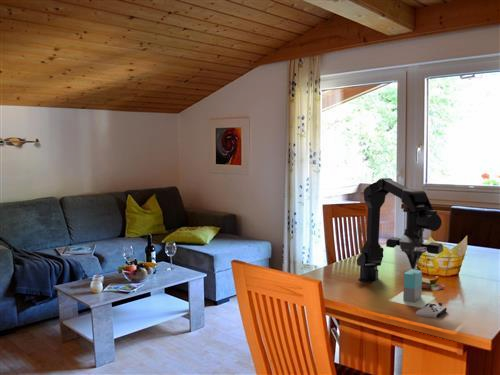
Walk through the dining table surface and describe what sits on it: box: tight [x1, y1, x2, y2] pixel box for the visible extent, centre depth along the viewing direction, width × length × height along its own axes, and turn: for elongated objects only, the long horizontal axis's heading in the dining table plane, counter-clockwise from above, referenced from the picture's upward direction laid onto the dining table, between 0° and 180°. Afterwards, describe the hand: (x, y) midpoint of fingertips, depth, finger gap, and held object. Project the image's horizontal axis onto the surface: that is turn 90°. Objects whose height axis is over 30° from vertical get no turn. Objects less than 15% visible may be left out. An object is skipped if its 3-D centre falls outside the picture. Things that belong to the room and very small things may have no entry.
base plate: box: [388, 290, 436, 309], centre depth 171 cm, size 12×14×1 cm
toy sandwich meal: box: [422, 277, 446, 292], centre depth 186 cm, size 12×14×5 cm
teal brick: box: [403, 268, 423, 289], centre depth 170 cm, size 4×7×5 cm, turn 141°
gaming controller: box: [415, 302, 447, 319], centre depth 158 cm, size 11×6×7 cm
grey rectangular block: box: [403, 284, 423, 303], centre depth 171 cm, size 4×7×5 cm, turn 141°
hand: (413, 268), depth 170 cm, fingers closed
